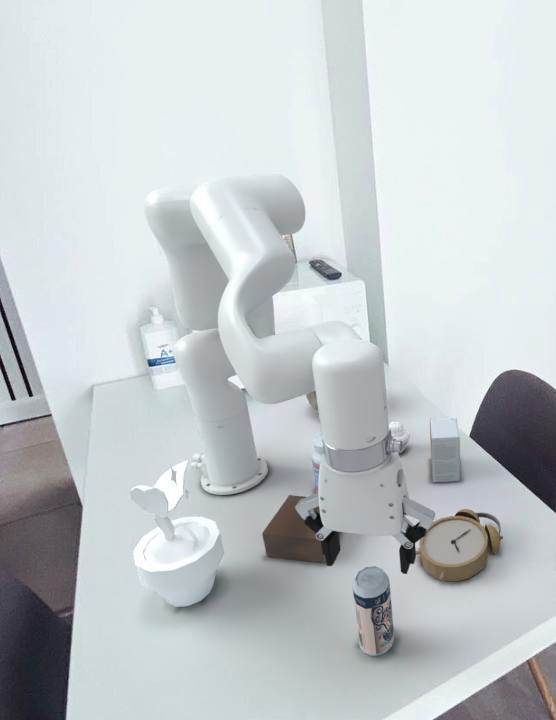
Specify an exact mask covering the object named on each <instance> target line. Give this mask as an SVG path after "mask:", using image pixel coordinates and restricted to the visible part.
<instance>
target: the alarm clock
mask: <svg viewBox="0 0 556 720" xmlns="http://www.w3.org/2000/svg"><path fill="white" fill-rule="evenodd" d="M480 518H485V519H488V520H490V521H492V522H494V523H495V524H496V525H497V527H498V529H497V528H496V527H495V526H494V525H492V524H485V525H484V526H483V525H482V524H481V520H480ZM501 530H502V529H501V522H500V520H499V519H498V518H497V517H496V516H494V515H493V514H491V513H488V512H480V511H479V512H475V511H473V510H471V509H469V508H462V509H460V510H458V511H457V512H455V514H454V515H450V516H446V517H441V518H439V519H437V520H435V521H433V523H432V524H431V526H430V528H429V529H428V530H427V532H426V534H425V536H424V537H423V538H421V539H420V540H419V541H418V546H419V549H417V550H416V556H417V555H420V559H421V563H422V566H423V568H424V569H425V571H426V572H427V573H428V574H429V575H431V576H432V577H434V578H435V579H438V580H440V581H445V582H459V581H463V580H468V579H470V578H471V577H474V576H475V575H477V574H478V573H479V572H480V571H481V570H482V569H484V568H485V565H486V564H487V561H488V560H489V553H490V554H491V555H494V554H496V553H498V551H499V550H500V548H501V542H502V540H503V539H504V536H503V535H501V532H502V531H501Z"/></svg>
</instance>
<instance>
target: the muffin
mask: <svg viewBox="0 0 556 720" xmlns="http://www.w3.org/2000/svg"><path fill="white" fill-rule="evenodd" d="M389 430H391V436H392V437H393V439H396V440H402V451H401V452H398V454H399V455H400V454H401V453H403V452H404V451H405V449H406V447H407V446H408V443H409V440H410V438H411V434H410V432H409V430H408V429H406V428H405V427H404V425H403V424H402V422H400V421H391V422H389Z"/></svg>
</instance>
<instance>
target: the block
mask: <svg viewBox="0 0 556 720" xmlns="http://www.w3.org/2000/svg"><path fill="white" fill-rule="evenodd" d="M305 497H306V496H304V495H293V494H289V495H288V496H287V497H286V499H285V500H284V502H283V503H282V505H281V506H280V508H279V509H278V510H277V511H276V513H275V514H274V516H273V517H272V519H271V520H270V521H269V523H267V526H266V527H265V529H264V530H263V532H262V533H261V535H262V539H263V544H264V549H265V554H266V557H268V558H276V559H285V560H293V561H303V562H312V563H319V564H324V563H326V559H325V555H323V552H322V546H321V540H318V539H317V538H316V533H315V532H314V531H312V530H311V529H310V528H309V527H308V526H306V525H305V523H304V521H305V520H304V519H302V517H301V516H300V515H299V513H298V512H297V510H296V509H295V506H296V505H297V503H298V502H299V500H300V499H303V498H305ZM313 509H314V511H316V512H318V513H319V514H320V509H319V507H316V508H313ZM338 533H339V534H340V533H341V532H338Z"/></svg>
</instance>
